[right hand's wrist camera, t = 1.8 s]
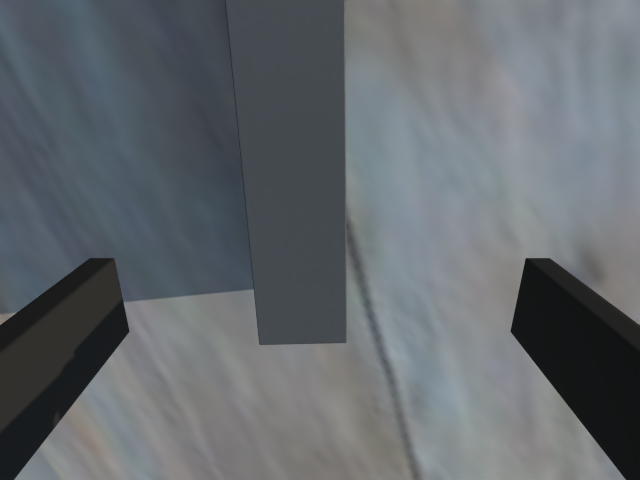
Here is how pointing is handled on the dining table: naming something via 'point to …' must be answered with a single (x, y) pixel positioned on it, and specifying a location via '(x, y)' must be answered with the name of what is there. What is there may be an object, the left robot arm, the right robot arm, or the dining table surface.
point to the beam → (293, 162)
